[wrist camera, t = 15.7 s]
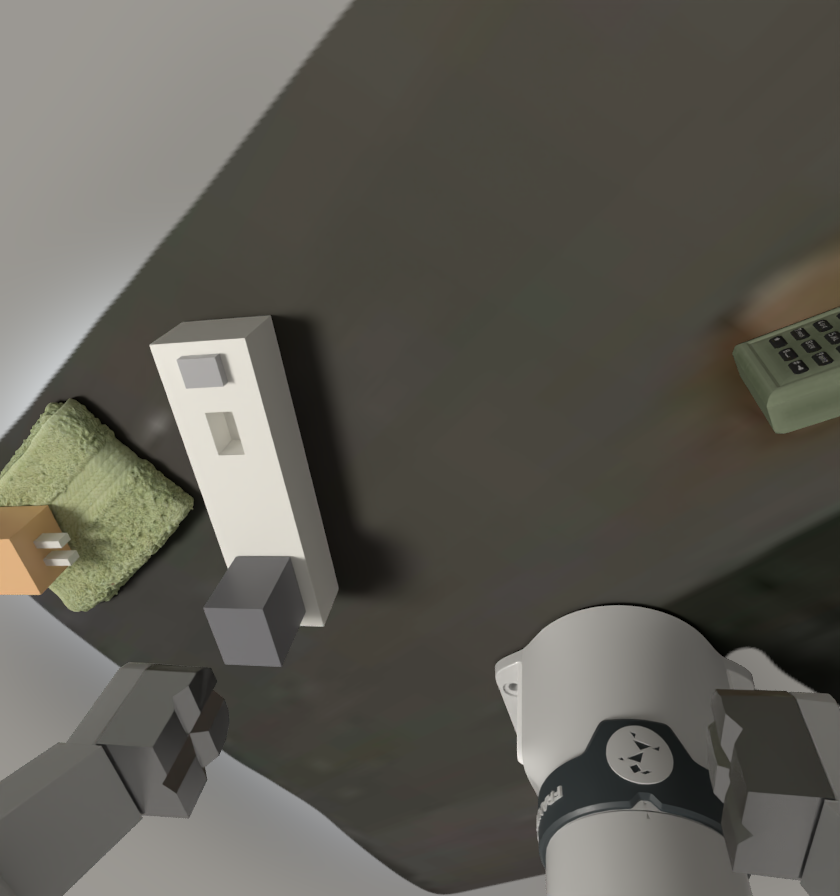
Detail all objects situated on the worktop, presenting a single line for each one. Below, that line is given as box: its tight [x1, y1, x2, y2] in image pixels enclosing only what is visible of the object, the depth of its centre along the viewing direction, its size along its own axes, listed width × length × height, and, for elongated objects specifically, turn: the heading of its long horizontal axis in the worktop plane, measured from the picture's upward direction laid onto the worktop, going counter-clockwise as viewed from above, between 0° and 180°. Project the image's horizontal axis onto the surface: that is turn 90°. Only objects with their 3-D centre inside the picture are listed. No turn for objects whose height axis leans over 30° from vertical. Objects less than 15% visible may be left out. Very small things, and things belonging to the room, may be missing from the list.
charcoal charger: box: [203, 557, 306, 667], centre depth 44 cm, size 5×4×7 cm
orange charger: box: [0, 505, 80, 595], centre depth 47 cm, size 5×4×7 cm
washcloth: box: [0, 398, 194, 612], centre depth 49 cm, size 13×18×3 cm
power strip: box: [150, 315, 339, 626], centre depth 43 cm, size 22×6×5 cm, turn 7°
